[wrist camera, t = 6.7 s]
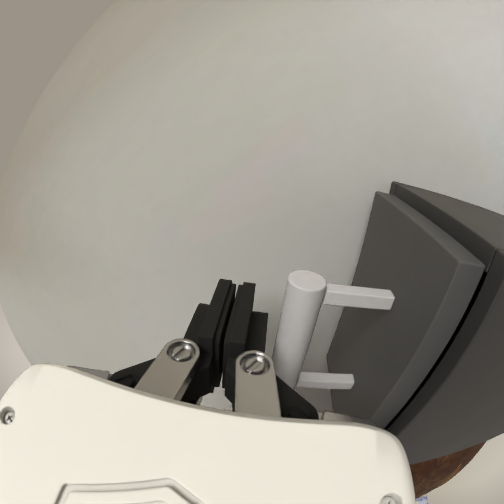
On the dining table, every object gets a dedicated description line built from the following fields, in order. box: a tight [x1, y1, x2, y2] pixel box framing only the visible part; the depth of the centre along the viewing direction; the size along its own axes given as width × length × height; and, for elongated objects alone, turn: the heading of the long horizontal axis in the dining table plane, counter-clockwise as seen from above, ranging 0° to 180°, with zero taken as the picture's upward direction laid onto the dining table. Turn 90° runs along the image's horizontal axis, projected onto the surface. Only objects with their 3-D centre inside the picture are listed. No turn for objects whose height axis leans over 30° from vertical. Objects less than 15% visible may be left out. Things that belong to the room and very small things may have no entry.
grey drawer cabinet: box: [386, 182, 504, 465], centre depth 11 cm, size 15×13×10 cm
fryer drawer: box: [272, 192, 487, 430], centre depth 11 cm, size 18×11×8 cm, turn 85°
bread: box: [409, 441, 486, 499], centre depth 23 cm, size 28×27×9 cm
